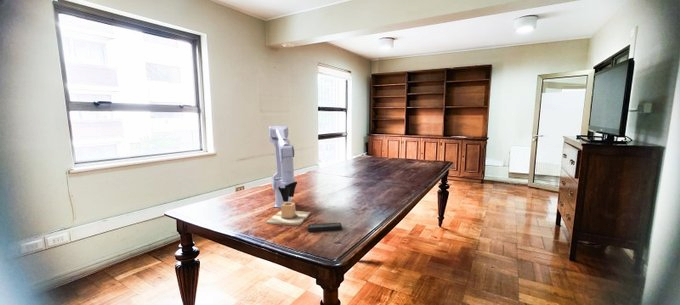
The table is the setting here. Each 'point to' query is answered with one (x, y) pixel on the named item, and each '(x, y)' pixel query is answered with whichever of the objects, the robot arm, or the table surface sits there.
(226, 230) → the table surface
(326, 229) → the multiport hub
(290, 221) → the post board
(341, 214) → the table surface
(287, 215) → the collar
